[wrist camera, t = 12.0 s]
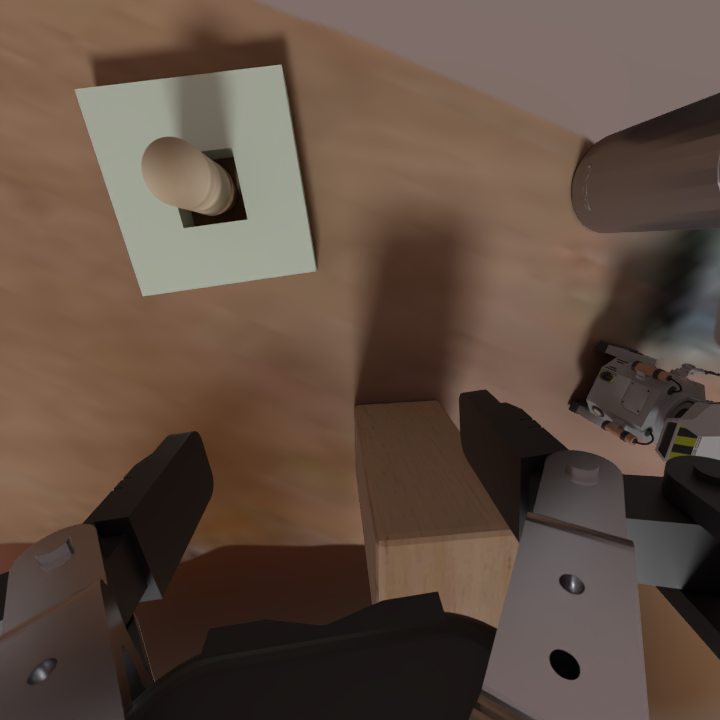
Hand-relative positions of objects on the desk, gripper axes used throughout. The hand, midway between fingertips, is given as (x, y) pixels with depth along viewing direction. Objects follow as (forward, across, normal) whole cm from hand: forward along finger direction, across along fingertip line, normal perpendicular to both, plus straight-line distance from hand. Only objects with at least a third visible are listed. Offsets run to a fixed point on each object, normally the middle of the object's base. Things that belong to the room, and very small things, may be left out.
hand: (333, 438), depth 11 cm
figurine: (+28, -32, +14) cm, 45 cm away
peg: (+27, +9, -11) cm, 31 cm away
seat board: (+27, +9, -11) cm, 31 cm away
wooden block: (+28, -5, +17) cm, 33 cm away
